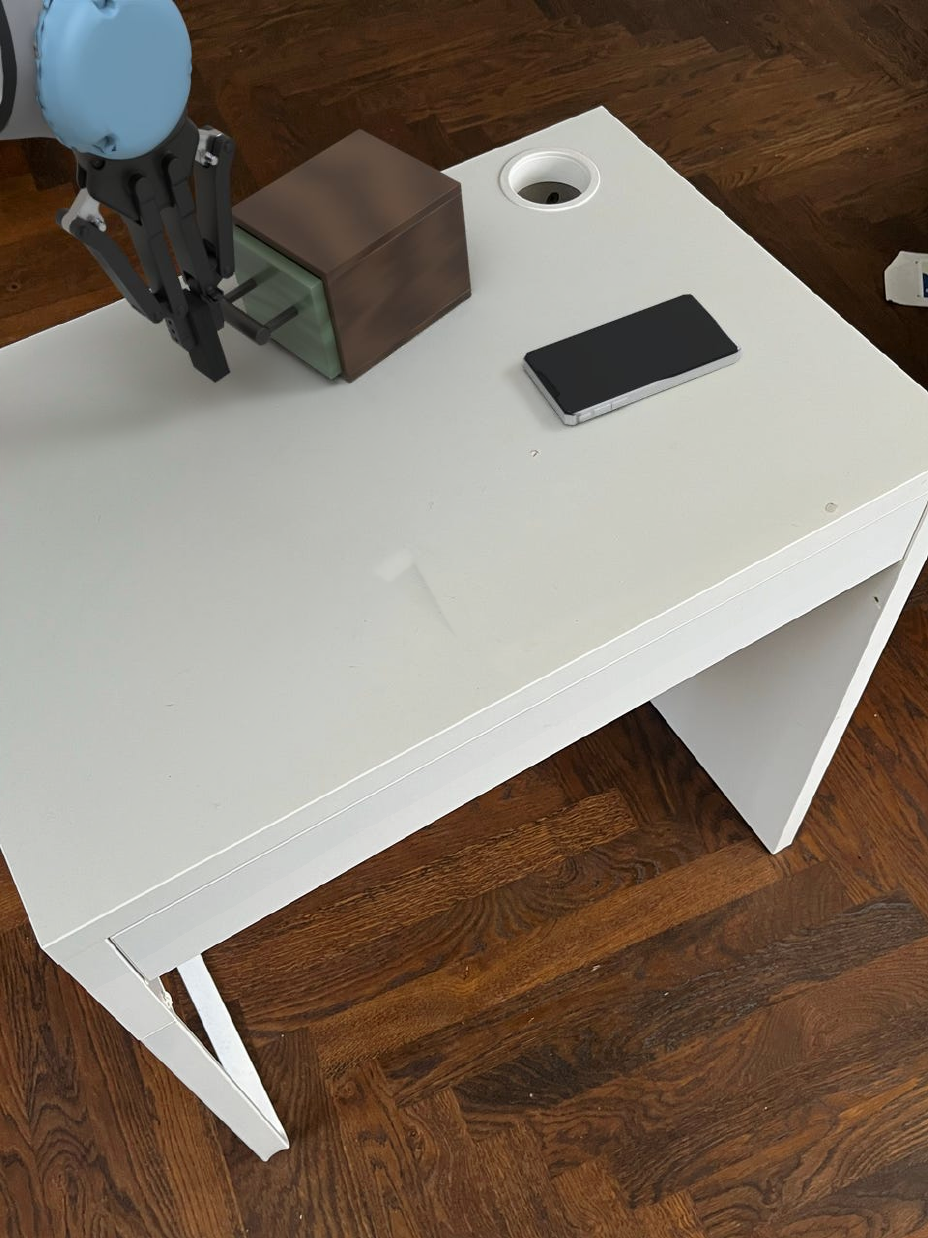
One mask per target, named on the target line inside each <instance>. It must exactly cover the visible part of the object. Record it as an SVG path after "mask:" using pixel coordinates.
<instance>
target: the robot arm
mask: <svg viewBox="0 0 928 1238" xmlns="http://www.w3.org/2000/svg"><path fill="white" fill-rule="evenodd" d="M192 57H193V55H192V44H191V40H190V35H189V32H188V29H187V25H186V23H185V21H184V19H183V16H182V14H181V11H180V10H179V8H178V7H177V5H176V3H175V2H174V1H173V0H0V141H6V140H20V139H29V138H30V139H31V138H49V139H56V140H57V141H58V142H59V143H60V144H62V145H63V146H65V147H66V148H68V149H70V150H71V151H72V153H73V155H74V156H75V160H76V177H75V178H76V183H77V186H78V188H79V189H80V190H79V192H78V193H77V196H76V197H75V199H74V201H73V203H72V205H71V206H70V208H67V207H61V208H59V209H58V210H57V211H56V212H55V214H54V221H55V224H57V226H59V227H61V228H62V229H63V230H64V231H66V232H67V233H68V234H70V235H71V236H73V237H74V238H75V239H77V240H78V241H80V242H81V243H82V244H83V245H84V246H85V248H86V249H87V250H88V251H89V253H90V254H91V255H92V257H93V258H94V259H95V261H96V262H97V264H98V265H99V266H100V267H101V269H102V270H103V271H104V273H105V274H106V275H107V276H108V278H109V279H110V280H111V282H112V283H113V285H114V286H115V287H116V288H117V289H118V291H119V292H120V293H121V295H122V297H123V298H124V299H125V300H126V301H127V303H128V304H129V305H130V307H131V308H132V309H134V310H135V311H136V312H138V313H139V314H140V315H141V316H143V317H144V318H146V320H148V321H150V322H151V323H152V324H154V325H158V324H161V323H162V322H163V321H164V322H165V324H166V327H167V330H168V332H169V335H170V338H171V340H172V341H173V342H174V343H175V344H176V345H178V346H179V347H180V348H182V350H184V351H186V352H188V355H189V358H190V360H191V364H192V366H193V368H194V369H196V370H197V371H198V372H200V373H201V374H202V375H203V376H205V377H206V378H208V379H209V380H210V381H212V382H213V383H214V384H216V383H217V382H220V380H222V379H224V378H226V376H229V375H230V374H231V369H230V366H229V364H228V361H227V358H226V354H225V351H224V348H223V345H222V342H221V339H220V335H219V333H218V332H219V331H221V330H222V329H224V328H225V321H224V318H223V315H222V311H221V308H220V305H219V302H220V301H221V300H222V299H223V296H224V295H225V291H224V290H222V289H221V288H220V287H218V286H219V284H220V283H221V282H222V280H228V279H230V278H232V277H233V276H234V275H235V261H234V243H233V225H232V207H233V206H232V193H231V192H232V191H231V189H232V188H231V175H230V174H231V171H232V166H233V161H234V157H235V152H236V146H237V145H236V141H235V140H234V138H232V137H230V136H228V135H226V134H225V133H223V132H221V131H220V130H218V129H216V128H214V127H213V126H211V125H210V124H209V125H204V126H202V127H201V128H198V126H197V124H196V123H194V122H193V120H191V118H189V116H188V114H189V113H188V106H187V102H188V100H189V96H190V91H191V84H192V78H191V76H192V75H191V74H192V71H193V66H192ZM192 173H193V177H194V178H193V179H194V191H195V193H194V194H195V201H194V198H193V193H192V191H191V188H190V182H191V178H192ZM100 205H103V206H105V207H106V208H108V209H110V210H111V211H113V212H115V213H117V214H119V216H120V218H121V220H122V221H123V222H124V223H125V225H126V227H127V229H128V232H129V236H130V237H131V240H132V244H133V246H134V249H135V251H136V255H137V257H138V259H139V261H140V265H141V267H142V270H143V274H144V276H145V278H146V281H147V284H148V285H147V284H146V283H145V281H144V280H143V278H142V277H141V275H140V274H139V273H138V272H137V270H136V269H135V267H134V266H133V265H132V263H131V262H130V260H129V259H128V257H127V256H126V255H125V254H124V252H123V251H122V249H121V248H120V246H119V245H118V244H117V243H116V242H115V239H113V238H112V237H111V236H110V235H109V234H107V233H106V232H105V231H107V228H108V227H107V224H106V223H105V222H106V221H105V218H104V216H103V215H102V213H101V212H100ZM195 212H196V216H195ZM196 218H197V219H196ZM164 231H166V234H167V237H168V240H169V243H170V246H171V249H172V252H173V255H174V257H175V260H176V264H177V266H178V269H179V272H180V275H181V278H182V280H183V282H184V284H185V285H186V286H187V287H188V288H187V287H185V288H183V287H182V284H181V283H182V282H181V281H180V278H179V275H178V271H177V269H176V266H175V263H174V260H173V256H172V254H171V252H170V248H169V245H168V241H167V239H166V237H165V233H164ZM148 286H149V287H148Z"/></svg>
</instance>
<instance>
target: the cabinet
mask: <svg viewBox="0 0 928 1238" xmlns="http://www.w3.org/2000/svg"><path fill="white" fill-rule="evenodd" d="M462 191H463V189H462V182H460V181H458V180H456V179H454V178H453V177H451V176H449V175H447V174H445V173H443V172H441V171H439V170H437V169H436V168H435V167H432V166H430V165H428V164H426V163H425V162H423V161H421V160H419V159H417V158H415V157H413V156H411V155H410V154H408V153H406V152H404V151H402V150H400V149H399V148H396V147H395V146H392V145H391V144H389V143H387V142H385V141H384V140H381V138H378V137H376V136H374V135H372V134H370V133H369V132H366V131H365V130H363V129H360V128H358V129H357V130H355V131H353V132H352V133H350V134H349V135H347V136H346V137H344V138H342V139H341V140H339V141H337V142H336V143H334V144H332V145H331V146H329V147H328V148H326V149H324V150H322V151H321V152H319V153H318V154H316V155H315V156H313V157H311V158H310V159H308V160H306V161H304V163H302V164H300V165H298V166H296V167H294V168H293V169H291V170H290V171H289V172H287V173H286V174H284V175H282V176H281V177H279V178H277V179H276V180H274V181H272V182H271V183H269V184H268V185H266V186H264V187H263V188H261V189H260V190H258V191H257V192H255V193H253V194H251V195H250V196H248V197H247V198H245V199H243V200H242V201H240V202H239V203H237V204H235V205H234V206H231V207H232V225H236V226H237V227H239V228H240V229H242V230H244V231H245V232H247V233H248V234H250V235H251V236H253V237H254V238H256V239H258V240H259V239H261V240H262V241H264V242H265V243H267V244H268V245H270V246H272V247H273V248H275V249H276V250H278V251H279V252H281V253H283V254H284V255H286V256H287V257H289V258H290V259H292V260H293V261H295V262H297V263H298V264H300V265H301V266H303V267H304V268H306V269H308V270H309V271H311V272H312V273H314V274H315V275H317V276H319V277H320V278H321V280H322V283H323V287H324V292H325V296H326V301H327V305H328V309H329V314H330V318H331V323H332V327H333V332H334V336H335V340H336V345H337V349H338V354H339V358H340V363H341V367H342V372H341V373H340V374H339V375H338V377H339V378H342V380H344V381H346V382H347V383H349V384H352V383H353V382H354V381H356V380H358V379H359V378H360V377H361V376H362V375H364V374H365V373H366V372H368V371H369V370H371V369H372V368H373V367H375V366H377V365H378V364H380V362H382V361H383V360H385V359H386V358H388V356H390V355H392V354H393V353H395V352H396V351H397V350H398V349H400V348H401V347H403V346H404V345H406V344H407V343H408V342H410V341H411V340H412V339H414V338H415V337H416V336H418V335H419V334H421V333H423V331H425V330H426V329H428V328H429V327H430V326H432V325H433V324H434V323H436V322H437V321H439V320H440V319H441V318H443V317H444V316H445V315H447V314H449V312H451V311H452V310H454V309H456V308H457V307H458V306H460V305H461V304H462V303H463V302H465V301H466V300H467V299H469V298H470V297H472V285H471V284H472V283H471V273H470V264H469V254H468V253H469V252H468V245H467V244H468V242H467V234H466V223H465V221H466V220H465V213H464V202H463V193H462Z"/></svg>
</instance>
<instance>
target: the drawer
mask: <svg viewBox="0 0 928 1238" xmlns="http://www.w3.org/2000/svg"><path fill="white" fill-rule="evenodd" d="M233 243H234V261H235V272H234V275H235V278H236V279H235V280H236V282H237V286H236V287H234V288H233V289H231V290H230V291H228V292H227V293H224V296H223V299H222V300H221V301H220V302H219V305H220V308H221V311H222V315H223V318H224V323H227V324H228V325H229V326H230V327H232V328H234V329H235V330H237V331H238V332H239V333H241V334H242V335H243V336H245V337H246V338H248V339H249V340H250V341H252V342H253V343H254V344H256V345H257V346H265V345H266V344H268V343H269V341H270V339H272V340H274V341H276V343H279V344H280V345H281V346H283V347H284V348H286V349H287V350H288V351H290V352H291V353H292V354H294V355H296V356H297V357H299V358H300V359H301V360H303V361H304V362H305V363H307V364H308V365H310V366H311V367H313V368H314V369H315V370H317V371H318V372H320V373H321V374H322V375H324V376H326V377H327V378H328V379H330V380H333V379H335V378H336V377H337V376H339V374H340V373H341V372H342V367H341V363H340V358H339V354H338V349H337V345H336V340H335V336H334V332H333V327H332V323H331V318H330V314H329V309H328V305H327V301H326V296H325V292H324V287H323V283H322V280H320V279H319V278H317V277H315V276H314V275H312V274H311V273H309V272H308V271H306V270H304V269H303V268H301V265H300V264H298V263H297V262H295V261H293V260H292V259H290V258H289V257H287V256H286V255H284V254H283V253H281V252H279V251H278V250H276V249H275V248H273V247H272V246H270V245H268V244H267V243H265V242H264V241H262V240H261V239H259V240H258V239H256V238H254V237H253V236H251V235H250V234H248V233H247V232H245V231H244V230H242V229H240V228H239V227H237V226H236V225H233ZM240 299H242V302H243V305H244V308H245V309H244V310H245V311H243V310H242V309H241V308H239V307H238V306H236V305H234V304H233V303H235V302H236V301H238V300H240Z"/></svg>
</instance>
